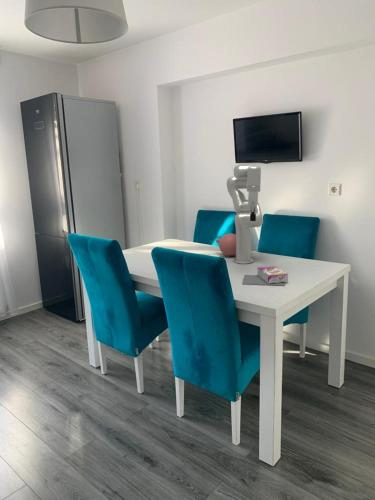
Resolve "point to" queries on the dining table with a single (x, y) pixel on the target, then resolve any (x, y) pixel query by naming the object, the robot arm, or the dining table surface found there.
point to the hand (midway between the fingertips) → (252, 220)
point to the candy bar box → (272, 275)
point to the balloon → (227, 244)
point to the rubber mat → (258, 281)
